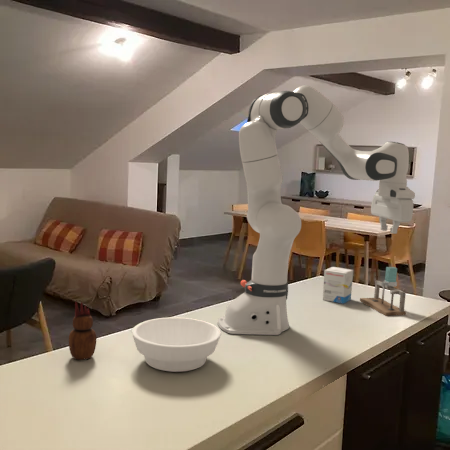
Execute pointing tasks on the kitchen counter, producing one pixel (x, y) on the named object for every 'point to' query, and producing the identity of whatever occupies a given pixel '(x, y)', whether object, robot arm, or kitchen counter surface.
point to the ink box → (337, 284)
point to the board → (386, 307)
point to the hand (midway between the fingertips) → (388, 231)
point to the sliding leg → (389, 279)
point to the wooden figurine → (82, 334)
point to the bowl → (176, 342)
